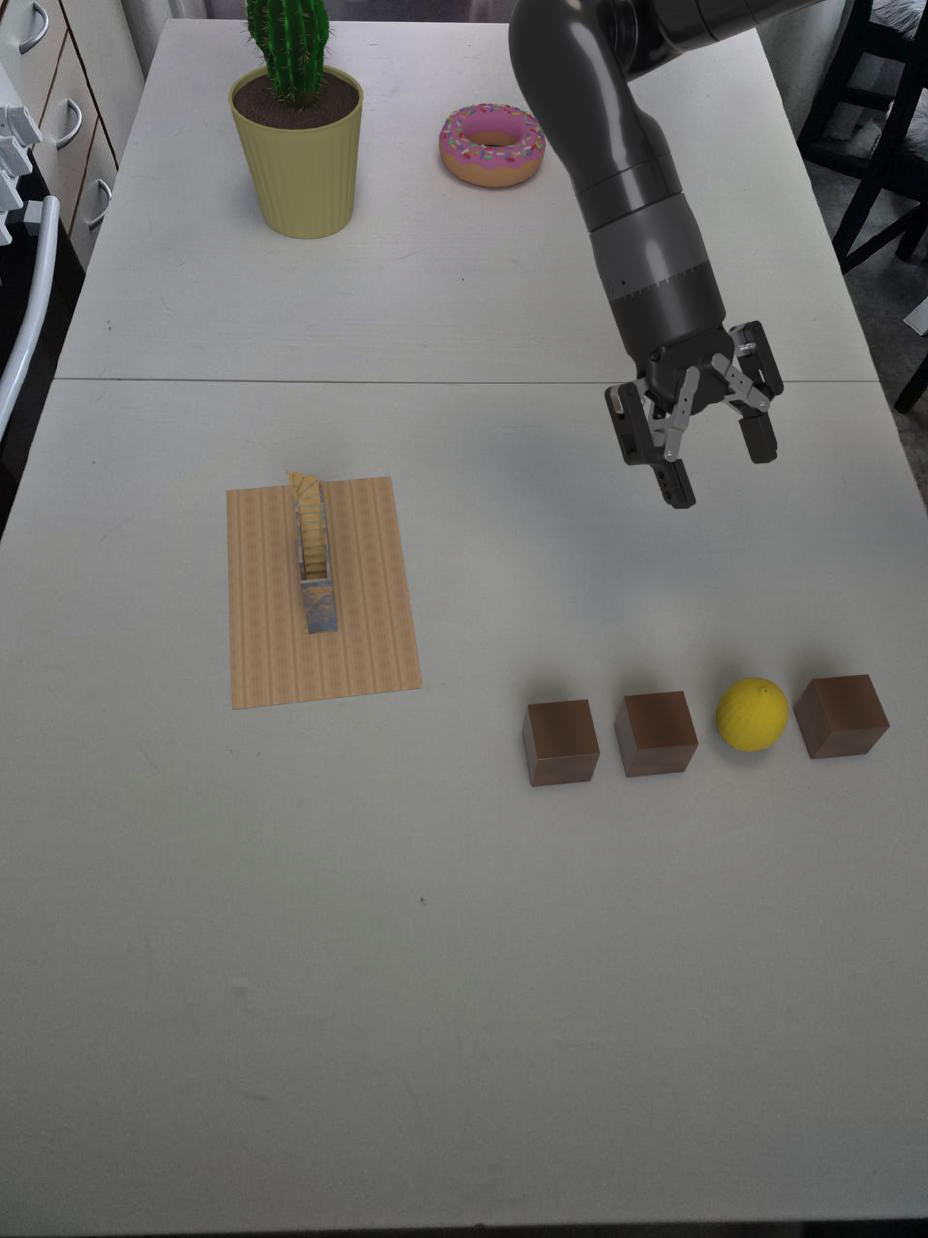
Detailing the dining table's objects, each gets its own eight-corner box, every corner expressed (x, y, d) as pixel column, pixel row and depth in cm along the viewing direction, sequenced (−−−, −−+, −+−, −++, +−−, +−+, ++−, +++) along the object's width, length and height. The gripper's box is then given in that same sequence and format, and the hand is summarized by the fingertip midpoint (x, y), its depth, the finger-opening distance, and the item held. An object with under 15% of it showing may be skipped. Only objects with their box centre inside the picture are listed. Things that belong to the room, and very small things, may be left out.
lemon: (711, 701, 84) (736, 652, 78) (774, 720, 83) (805, 672, 77) (700, 755, 81) (725, 709, 75) (765, 775, 80) (797, 730, 74)
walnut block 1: (579, 726, 82) (587, 697, 78) (590, 781, 79) (600, 754, 75) (521, 731, 82) (527, 702, 78) (531, 787, 79) (537, 760, 75)
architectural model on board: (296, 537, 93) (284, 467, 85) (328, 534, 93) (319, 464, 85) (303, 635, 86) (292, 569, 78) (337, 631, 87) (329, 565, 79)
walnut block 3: (846, 701, 85) (868, 672, 81) (867, 754, 82) (890, 726, 78) (791, 706, 84) (811, 677, 80) (810, 759, 81) (831, 732, 77)
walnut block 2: (670, 717, 83) (683, 688, 79) (684, 772, 80) (699, 744, 76) (613, 723, 83) (623, 693, 79) (626, 777, 80) (637, 750, 76)
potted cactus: (381, 186, 127) (371, -79, 102) (352, 256, 118) (335, -15, 93) (267, 170, 128) (230, -96, 103) (231, 239, 119) (181, -34, 94)
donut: (451, 197, 126) (453, 160, 122) (428, 139, 134) (428, 102, 130) (556, 186, 128) (561, 150, 124) (527, 129, 136) (531, 93, 132)
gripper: (610, 298, 63) (689, 523, 68) (763, 230, 68) (827, 443, 73) (552, 320, 70) (627, 523, 75) (695, 256, 75) (757, 450, 79)
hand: (726, 483), depth 74 cm, fingers open, 8 cm apart
